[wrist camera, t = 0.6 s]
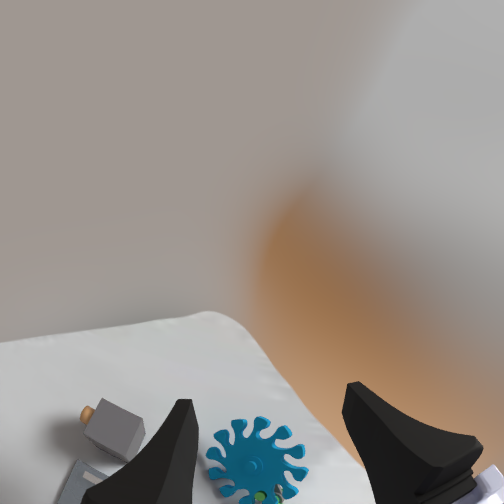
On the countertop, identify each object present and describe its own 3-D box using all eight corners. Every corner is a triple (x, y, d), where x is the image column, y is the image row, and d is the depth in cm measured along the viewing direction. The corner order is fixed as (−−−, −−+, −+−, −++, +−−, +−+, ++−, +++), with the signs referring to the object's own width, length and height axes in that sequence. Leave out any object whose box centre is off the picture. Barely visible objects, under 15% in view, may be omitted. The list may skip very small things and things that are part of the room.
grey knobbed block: (132, 464, 20) (125, 456, 17) (86, 440, 20) (71, 426, 17) (145, 433, 23) (142, 418, 20) (101, 411, 23) (90, 391, 20)
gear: (190, 431, 24) (281, 401, 22) (220, 428, 28) (299, 400, 27) (224, 524, 17) (324, 507, 16) (250, 508, 22) (335, 487, 20)
